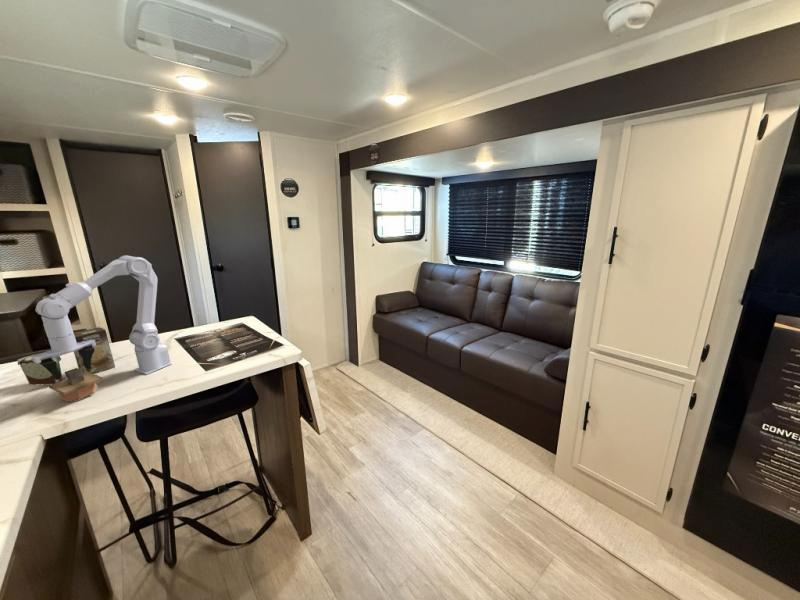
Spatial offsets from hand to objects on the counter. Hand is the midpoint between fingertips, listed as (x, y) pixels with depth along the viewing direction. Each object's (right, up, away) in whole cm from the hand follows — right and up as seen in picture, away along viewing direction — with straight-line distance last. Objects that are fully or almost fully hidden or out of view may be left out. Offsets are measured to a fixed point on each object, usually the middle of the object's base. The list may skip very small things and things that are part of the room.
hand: (73, 373), depth 104 cm
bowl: (0, -8, +2) cm, 8 cm away
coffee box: (-10, -3, +19) cm, 22 cm away
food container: (-20, -5, +12) cm, 24 cm away
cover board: (0, -4, +1) cm, 4 cm away
